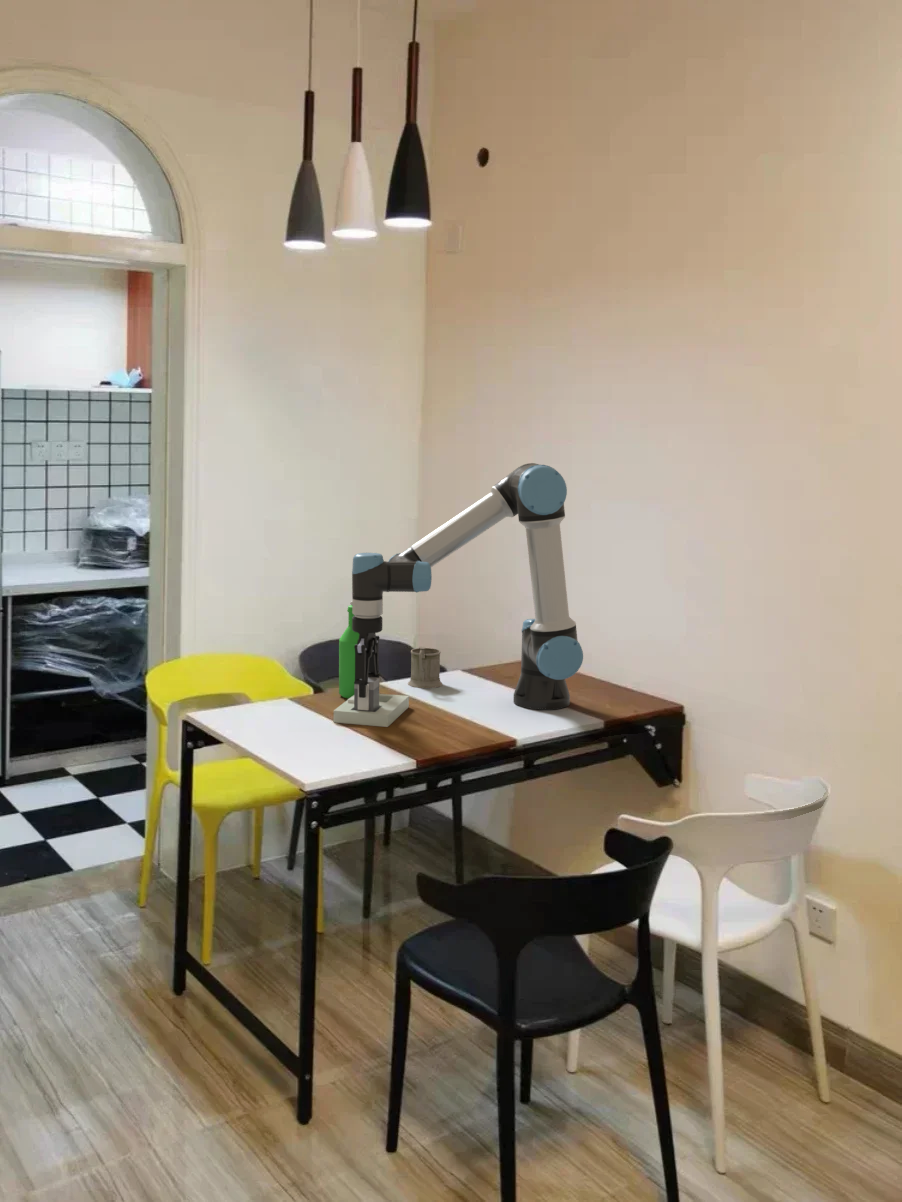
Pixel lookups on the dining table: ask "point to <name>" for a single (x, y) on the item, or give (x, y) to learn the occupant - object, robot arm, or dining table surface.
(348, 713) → the socket plate
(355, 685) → the plug
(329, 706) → the dining table surface
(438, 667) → the mug
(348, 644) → the bottle
